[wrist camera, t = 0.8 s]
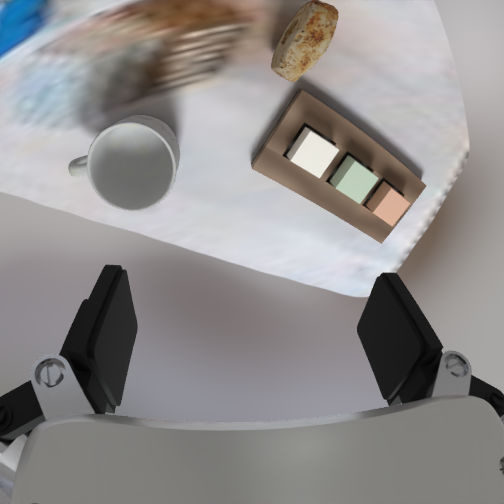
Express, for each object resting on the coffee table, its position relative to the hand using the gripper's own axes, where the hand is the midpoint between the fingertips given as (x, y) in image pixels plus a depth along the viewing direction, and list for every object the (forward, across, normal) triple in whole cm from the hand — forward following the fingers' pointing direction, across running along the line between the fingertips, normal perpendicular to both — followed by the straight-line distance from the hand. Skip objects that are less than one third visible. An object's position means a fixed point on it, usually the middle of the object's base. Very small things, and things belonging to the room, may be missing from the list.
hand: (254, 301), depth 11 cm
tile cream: (+29, -9, +1) cm, 31 cm away
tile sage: (+29, -16, +4) cm, 33 cm away
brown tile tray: (+31, -16, +4) cm, 35 cm away
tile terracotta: (+29, -22, +7) cm, 37 cm away
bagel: (+31, -6, -13) cm, 34 cm away
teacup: (+32, +13, +2) cm, 34 cm away
